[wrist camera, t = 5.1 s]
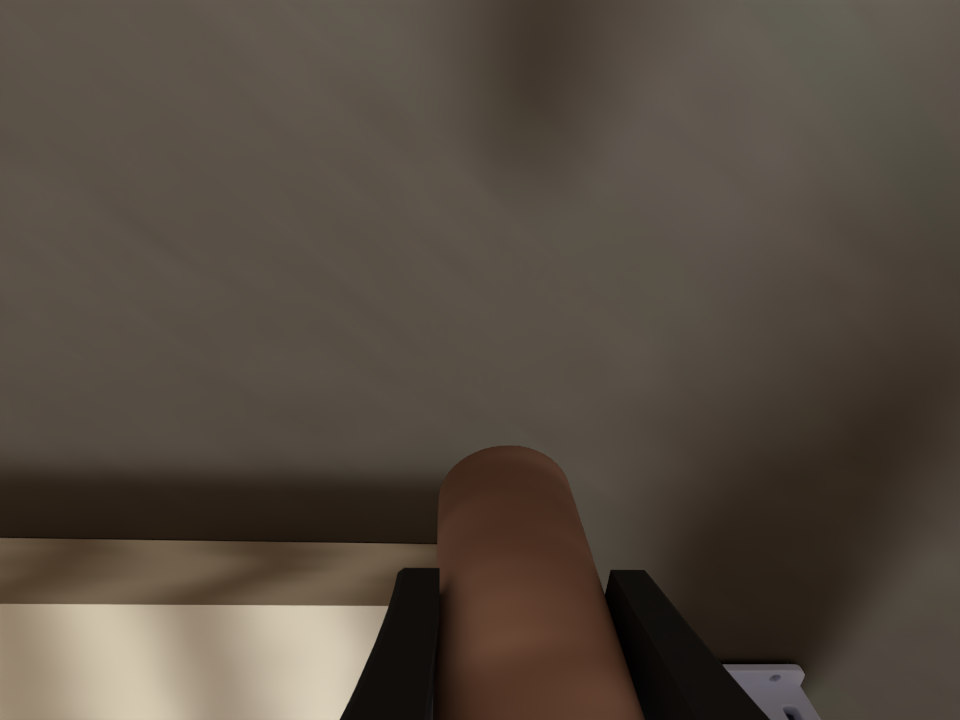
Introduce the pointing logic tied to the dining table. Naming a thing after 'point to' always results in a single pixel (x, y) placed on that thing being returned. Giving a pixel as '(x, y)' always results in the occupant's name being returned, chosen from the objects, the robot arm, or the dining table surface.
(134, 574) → the socket block
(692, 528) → the dining table surface
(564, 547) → the peg
